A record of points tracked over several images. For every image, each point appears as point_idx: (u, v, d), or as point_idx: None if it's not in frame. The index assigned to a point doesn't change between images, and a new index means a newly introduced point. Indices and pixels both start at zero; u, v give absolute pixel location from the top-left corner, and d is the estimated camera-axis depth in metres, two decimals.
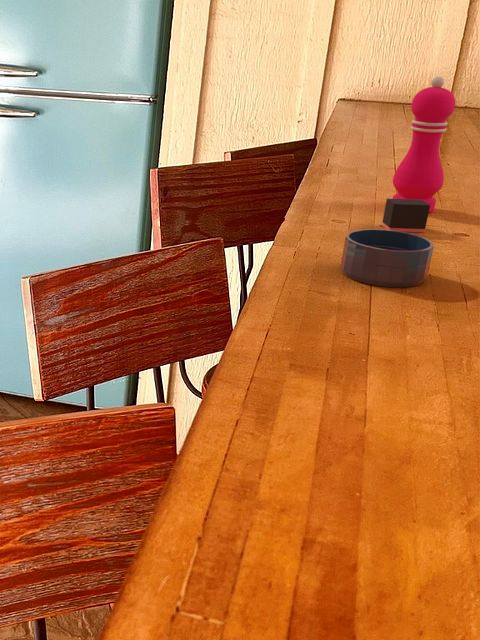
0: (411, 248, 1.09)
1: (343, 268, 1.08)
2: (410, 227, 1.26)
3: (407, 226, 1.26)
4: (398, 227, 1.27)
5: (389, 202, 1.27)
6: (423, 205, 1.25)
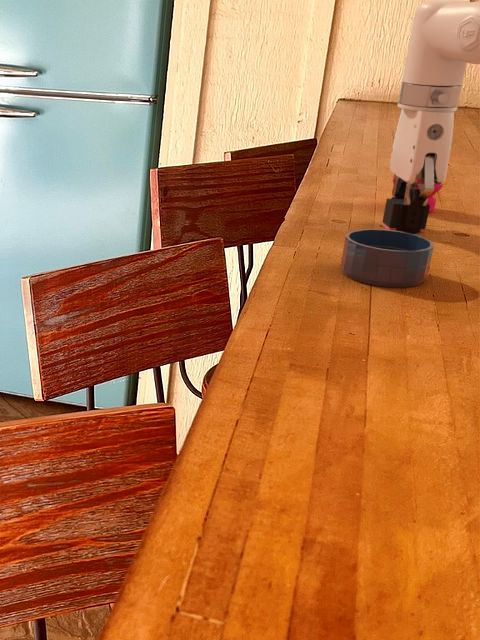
0: (411, 248, 1.09)
1: (343, 268, 1.08)
2: None
3: None
4: None
5: (389, 202, 1.27)
6: None
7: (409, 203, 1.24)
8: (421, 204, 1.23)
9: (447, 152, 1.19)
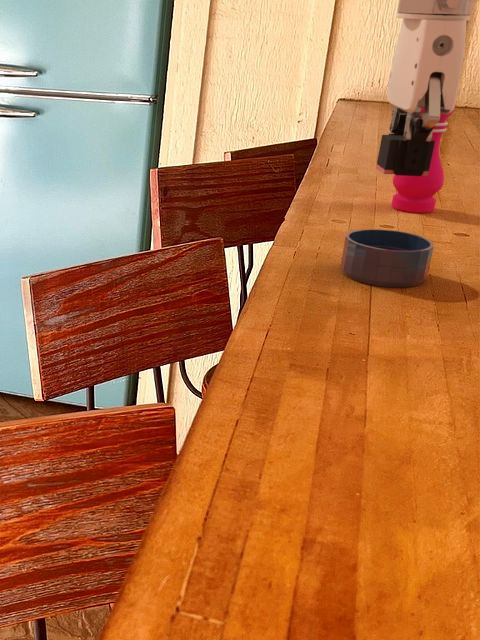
0: (411, 248, 1.09)
1: (343, 268, 1.08)
2: None
3: None
4: None
5: (385, 138, 1.04)
6: None
7: (410, 138, 1.00)
8: (424, 139, 1.00)
9: (457, 71, 0.96)
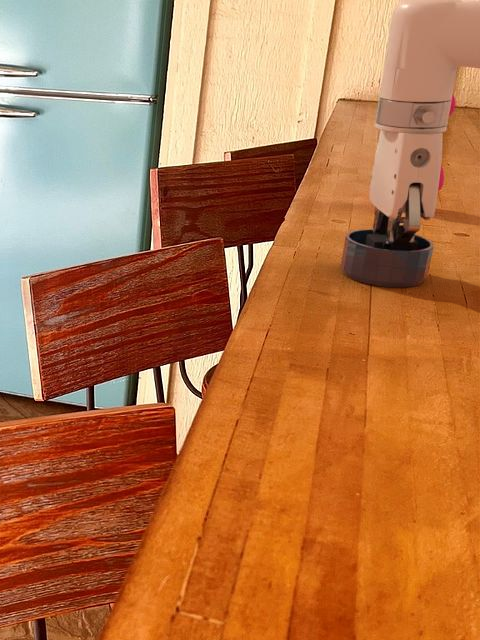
0: None
1: (343, 268, 1.08)
2: None
3: None
4: None
5: (369, 239, 1.07)
6: None
7: (392, 242, 1.03)
8: (407, 243, 1.03)
9: (435, 181, 0.98)
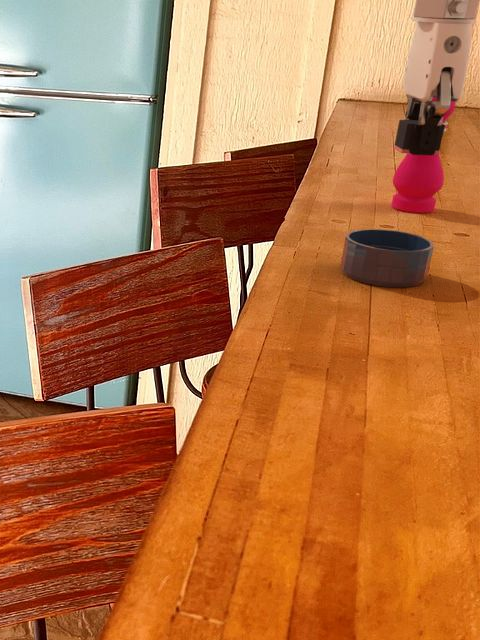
0: (411, 248, 1.09)
1: (343, 268, 1.08)
2: None
3: None
4: None
5: (402, 123, 1.22)
6: None
7: (424, 122, 1.19)
8: (436, 123, 1.18)
9: (464, 66, 1.14)
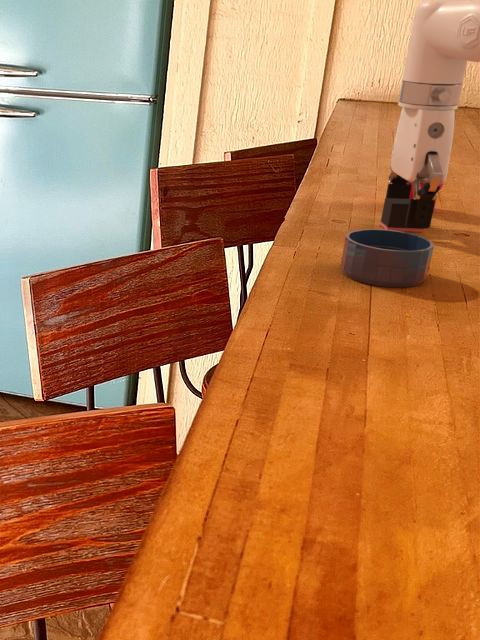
0: (411, 248, 1.09)
1: (343, 268, 1.08)
2: None
3: (405, 226, 1.27)
4: (396, 227, 1.27)
5: (387, 202, 1.27)
6: None
7: (419, 197, 1.20)
8: None
9: (448, 150, 1.19)
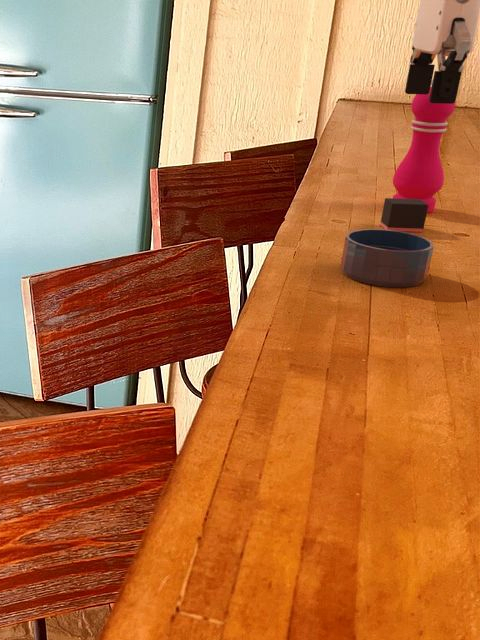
0: (411, 248, 1.09)
1: (343, 268, 1.08)
2: (408, 227, 1.27)
3: (405, 226, 1.27)
4: (396, 227, 1.27)
5: (387, 202, 1.27)
6: (421, 205, 1.25)
7: (444, 68, 1.14)
8: None
9: (476, 17, 1.12)
